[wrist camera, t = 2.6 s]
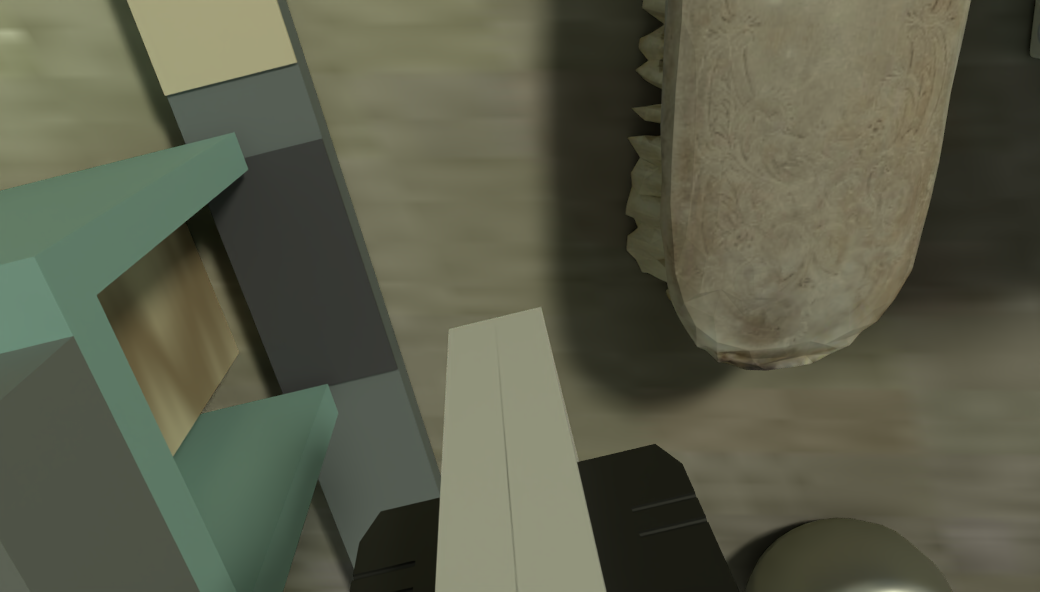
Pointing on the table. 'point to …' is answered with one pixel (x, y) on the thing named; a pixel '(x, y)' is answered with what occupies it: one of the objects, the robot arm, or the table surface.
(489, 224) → the table surface
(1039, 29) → the light bulb box
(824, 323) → the shoe brush
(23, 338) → the teal cover
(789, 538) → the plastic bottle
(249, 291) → the puzzle board
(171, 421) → the maple block
